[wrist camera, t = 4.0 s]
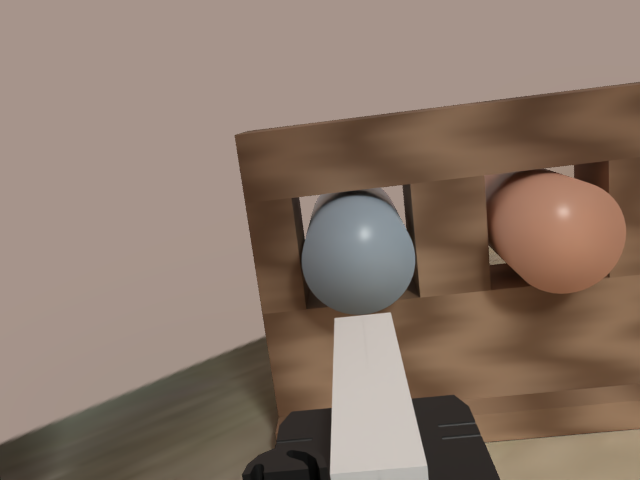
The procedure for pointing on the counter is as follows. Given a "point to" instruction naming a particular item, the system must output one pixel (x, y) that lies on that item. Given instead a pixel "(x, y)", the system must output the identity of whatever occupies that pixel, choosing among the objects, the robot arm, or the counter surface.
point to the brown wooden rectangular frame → (460, 259)
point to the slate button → (357, 252)
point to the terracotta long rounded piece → (553, 228)
